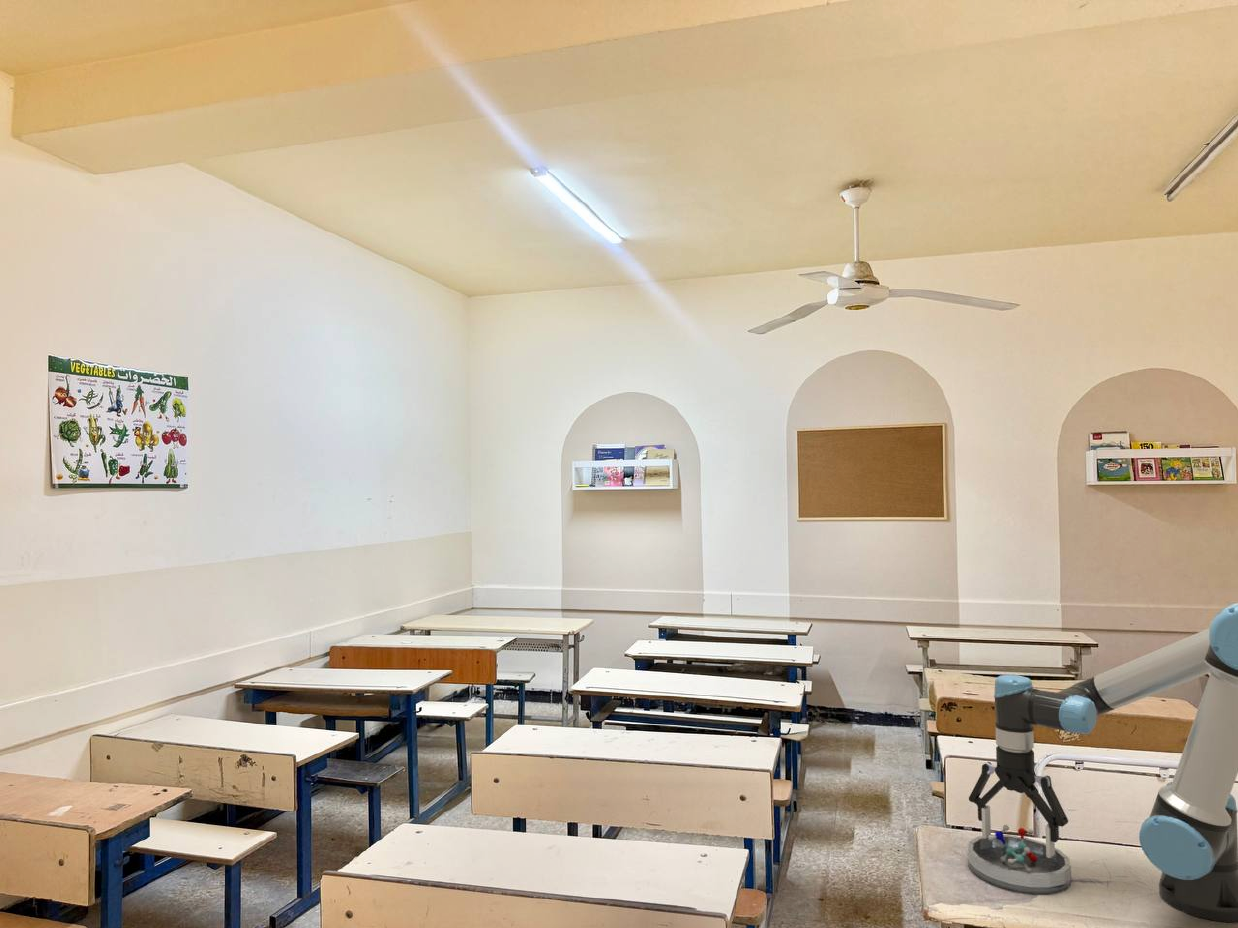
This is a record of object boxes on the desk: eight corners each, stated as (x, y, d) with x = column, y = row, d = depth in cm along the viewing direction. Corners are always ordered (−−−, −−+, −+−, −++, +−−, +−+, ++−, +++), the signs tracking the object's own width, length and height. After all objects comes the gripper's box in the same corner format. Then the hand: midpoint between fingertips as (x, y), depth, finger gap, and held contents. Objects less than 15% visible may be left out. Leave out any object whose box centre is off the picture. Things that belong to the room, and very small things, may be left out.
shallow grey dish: (1084, 872, 176) (1084, 854, 176) (1050, 904, 163) (1049, 884, 163) (991, 844, 191) (991, 827, 191) (952, 871, 178) (952, 852, 178)
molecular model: (1055, 863, 170) (1026, 816, 174) (1013, 883, 171) (985, 835, 176) (1049, 858, 180) (1022, 813, 184) (1010, 876, 181) (983, 831, 186)
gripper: (1082, 756, 171) (1086, 858, 171) (966, 732, 190) (969, 824, 189) (1069, 764, 166) (1073, 869, 165) (951, 738, 185) (954, 833, 184)
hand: (1017, 845), depth 177 cm, fingers open, 13 cm apart
